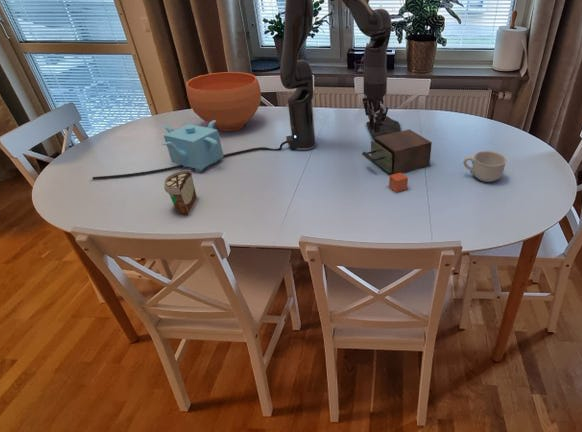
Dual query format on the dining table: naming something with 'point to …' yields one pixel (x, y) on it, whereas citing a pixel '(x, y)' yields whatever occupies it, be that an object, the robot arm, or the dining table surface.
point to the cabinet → (406, 150)
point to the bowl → (224, 98)
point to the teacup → (487, 165)
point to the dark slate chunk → (386, 127)
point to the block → (398, 182)
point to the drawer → (380, 156)
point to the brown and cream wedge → (181, 191)
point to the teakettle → (194, 145)
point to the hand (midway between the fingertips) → (374, 130)
